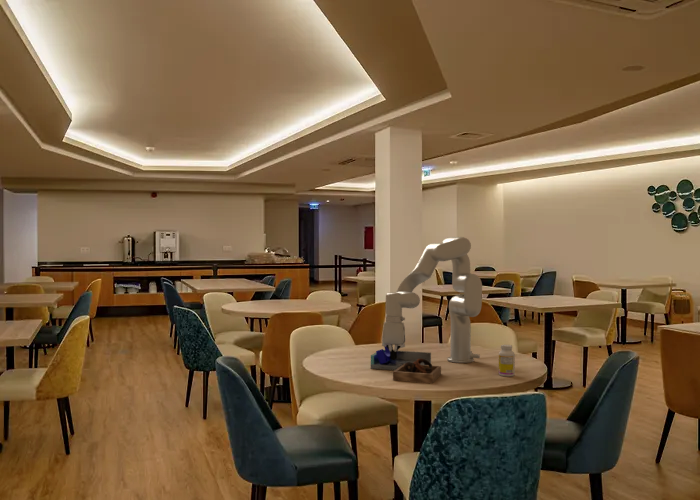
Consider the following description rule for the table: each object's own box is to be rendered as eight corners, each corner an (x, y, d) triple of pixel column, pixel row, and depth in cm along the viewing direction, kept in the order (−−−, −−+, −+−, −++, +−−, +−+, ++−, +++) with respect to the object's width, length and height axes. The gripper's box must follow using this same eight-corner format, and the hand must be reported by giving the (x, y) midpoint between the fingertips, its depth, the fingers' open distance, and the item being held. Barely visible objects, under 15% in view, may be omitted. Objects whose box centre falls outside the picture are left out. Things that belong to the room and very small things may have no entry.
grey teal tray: (431, 365, 283) (431, 352, 283) (423, 372, 267) (423, 358, 267) (381, 362, 291) (381, 349, 291) (370, 368, 275) (370, 355, 275)
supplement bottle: (502, 373, 266) (502, 343, 266) (517, 375, 262) (517, 345, 262) (495, 375, 261) (496, 345, 261) (510, 377, 257) (510, 347, 257)
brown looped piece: (423, 373, 267) (431, 358, 264) (429, 387, 259) (437, 372, 256) (398, 368, 264) (406, 352, 261) (403, 382, 255) (411, 366, 252)
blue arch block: (386, 358, 287) (382, 346, 287) (395, 356, 285) (390, 343, 285) (377, 364, 276) (372, 352, 276) (386, 362, 274) (381, 349, 274)
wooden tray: (441, 374, 263) (441, 366, 263) (432, 383, 246) (432, 374, 246) (404, 371, 269) (404, 363, 269) (393, 380, 251) (393, 371, 251)
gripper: (411, 319, 280) (411, 359, 280) (380, 318, 285) (379, 357, 285) (407, 321, 273) (407, 362, 273) (375, 319, 278) (375, 360, 278)
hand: (393, 359), depth 279 cm, fingers closed
